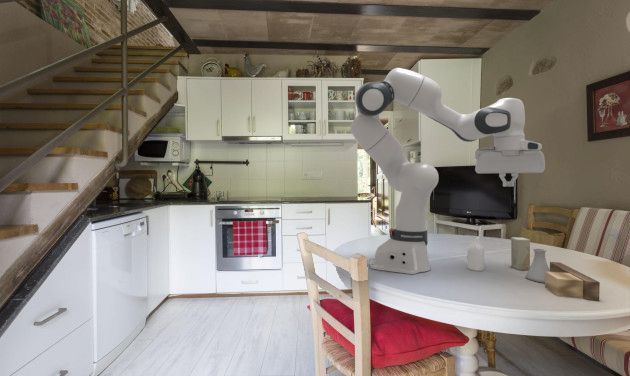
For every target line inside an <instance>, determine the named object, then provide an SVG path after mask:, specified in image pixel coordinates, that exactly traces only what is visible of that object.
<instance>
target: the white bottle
mask: <svg viewBox="0 0 630 376" xmlns="http://www.w3.org/2000/svg"><path fill="white" fill-rule="evenodd" d="M466 250H467V253H466V254H467V255H466V257H467V258H466V268H467V269H468V270H471V271H474V272H482V271H484V266H485V247H484V246H483V245H482V242H481V241H480V237H479V236H476V237H475V238H474V239H473V240H472V241H471V242H470V244H469V246H468V247H467V249H466Z"/></svg>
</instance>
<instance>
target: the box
mask: <svg viewBox="0 0 630 376" xmlns="http://www.w3.org/2000/svg"><path fill="white" fill-rule="evenodd" d="M510 239H511V240H510V249H511V250H510V251H511V252H510V253H511V254H510V257H511V267H512V268H514V269H515V270H518V271H519V270H521V271H529V269H530V266H531V240H530V239H529V238H525V237H517V236H515V237H510Z"/></svg>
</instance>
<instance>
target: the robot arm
mask: <svg viewBox="0 0 630 376" xmlns="http://www.w3.org/2000/svg"><path fill="white" fill-rule="evenodd" d="M354 101H355V105H356V108H357V114H358V115H357V116H356V117H355V118H354V119H353V120H352V122H351V125H350V131H351V134H352V135H353V137H354V139H355V140H356V142H357V143H358V145H359V146H360V147H361V148H362V149H363V151H365V152H366V154H367V155H368V156H369V157H370V158H371V159H372V160H373V161H374V162H375V164H377V166H378V168H380V170H381V171H382V173H383V175H384V176H385V178H386V179H387V180H386V181H387V184H388V186H389V187H390V188H392V189H393V190H395V191H397V192H399V193H401V194H400V199H399V201H398V204H397V206H396V207H395V210H394V211H395V214H394V215H395V218H394V219H395V220H394V221H395V222H394V223H395V228H389V230H388V232H389V239H387V240H385V242H383V243H382V244H380V245H379V246H378V247H377V248H376V251H375V254H374V257H373V258H370V259H369V262H368V266H369V268H370V269H372V270H378V271H386V272H393V273H401V274H408V275H415V274H418V273H424V272H428V271H430V270H431V269H432V267H431V264H430V260H429V255H428V241H429V233H428V230H427V210H428V204H429V201H430V197H431V195H432V192H433V190H434V189H435V188H436V187H437V185H438V183H439V179H440V178H439V172H438V170H437V169H436V168H435V167H434V166H433V165H432V164H429V163H425V162H411V161H410V160H408V159H407V157H406V155H405V154H404V151H403V145H402V144H401V142H399V140H398V139H397V138H396V137H395V136H394V135H393V133H392V132H390V131H389V129H388V128H387V127H386V126H385V125H384V124H383V123H382V121H381V120H380V115H381V113H383V112H384V111H385V110H387V108H388V107H389V105H391V104H392V102H396V103H398V104H401V105H404V106H405V107H407V108H409V109H412V110H414V111H416V112H419V113H421V114H422V115H424V116H426V117H428V118H430V119H431V120H433V121H435V122H437V123H439V124H440V125H442V126H444V127H445V128H447V129H449V130H450V131H452V132H453V133H454V135H455V136H456V137H457V138H458V139H460V140H462V141H463V142H469V143H472V142H475V141H477V140H480V139H483V138H486V137H490V136H493V144H494V145H493V146H487V147H484V146H481V147H479V148H477V149H476V150H475V152H474V154H475V155H474V158H475V159H476V160H475V168H474V171H475V172H476V174H499V175H498V177H499V178H500V180H501V182H502V187H505V188H507V187H509V188H511V187H515V182H516V180H517V179H518V177H519V174H541V173H542V174H543V173H544V171H545V170H546V157H545V154H544V152H542V151H541V150H542V148H543V144H542V143H539V142H535V141H531V140H527V139H525V137H526V135H525V132H524V128H525V126H526V113H525V111H526V110H525V105H524V102H523V101H522V100H521V99H519V98H517V97H503V98H499V99H498V100H497V101H496V102H494V103H492V104H490V105H487V106H485V107H483V108H480V109H478V110H475V111H473V112H470V113H467V114H464V113H459V112H458V111H456V110H454V109H453V108H451V107H449V106H447V105H445V104H444V103H443V102H442V88H441V86H440V84H439V83H438V82H437V81H435V80H433V79H432V78H430V77H428V76H425V75H423V74H421V73H418V72H417V71H414V70H410V69H407V68H403V67H395V68H393V69H391V70H390V71H389V72H388V74H387V75H386V76H385V78H384V79H383V80H381V81H369V82H365V83H363V84H362V85H361V86H360V87H359V88H358V89H357V91H356V93H355V97H354ZM506 174H511V175H510V176H511V177H512V178H511V180H510V181H508V180H506V178H505V177H506V176H507V175H506Z"/></svg>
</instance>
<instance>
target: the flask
mask: <svg viewBox="0 0 630 376" xmlns="http://www.w3.org/2000/svg"><path fill="white" fill-rule="evenodd" d="M546 252H547V249H544V248H533V253H534V255H533V260H532V262H531V263H530V269H529V270H527V272H526V275H525V278H526V279H528V280H530V281H532V282H537V283H544V284H545V271H547V272H550V266H549V265H548V262H547V258H546Z"/></svg>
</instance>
